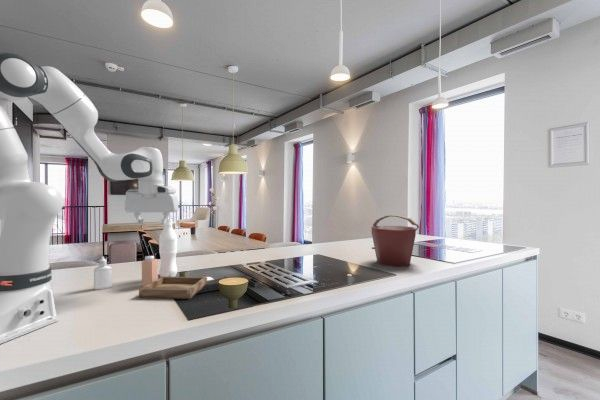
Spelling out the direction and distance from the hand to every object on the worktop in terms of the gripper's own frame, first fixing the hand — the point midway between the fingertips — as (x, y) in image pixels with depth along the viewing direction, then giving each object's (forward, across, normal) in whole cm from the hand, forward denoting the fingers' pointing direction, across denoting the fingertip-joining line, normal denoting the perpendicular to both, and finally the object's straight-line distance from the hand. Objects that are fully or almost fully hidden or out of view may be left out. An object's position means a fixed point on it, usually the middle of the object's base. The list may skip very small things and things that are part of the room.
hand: (152, 224), depth 117 cm
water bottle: (+24, +1, +10) cm, 26 cm away
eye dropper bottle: (+24, -17, -6) cm, 30 cm away
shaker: (+24, -1, -1) cm, 24 cm away
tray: (+24, +12, -7) cm, 28 cm away
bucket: (+26, +104, +45) cm, 116 cm away
